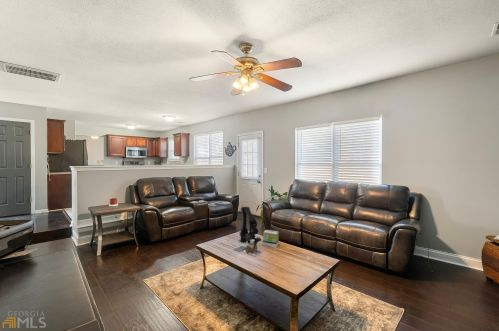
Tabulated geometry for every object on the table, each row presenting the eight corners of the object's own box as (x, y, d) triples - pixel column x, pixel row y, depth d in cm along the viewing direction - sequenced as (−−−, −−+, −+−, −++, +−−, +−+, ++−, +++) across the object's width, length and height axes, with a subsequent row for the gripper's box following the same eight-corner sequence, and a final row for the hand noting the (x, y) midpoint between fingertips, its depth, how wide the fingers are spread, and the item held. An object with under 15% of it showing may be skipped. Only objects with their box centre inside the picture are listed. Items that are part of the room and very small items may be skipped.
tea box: (262, 245, 242) (262, 231, 242) (265, 242, 252) (265, 229, 251) (276, 247, 237) (276, 233, 236) (278, 244, 246) (278, 231, 246)
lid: (251, 248, 222) (251, 245, 222) (246, 246, 226) (246, 243, 226) (257, 245, 231) (257, 242, 230) (252, 243, 234) (252, 241, 234)
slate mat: (233, 249, 230) (233, 249, 230) (241, 246, 240) (241, 245, 240) (240, 252, 224) (240, 251, 224) (248, 248, 235) (248, 247, 234)
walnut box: (250, 253, 222) (250, 247, 222) (246, 251, 225) (246, 245, 225) (257, 249, 232) (257, 243, 232) (253, 248, 235) (253, 242, 235)
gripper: (239, 231, 227) (239, 246, 228) (254, 235, 216) (254, 251, 216) (246, 228, 236) (246, 243, 237) (261, 232, 225) (261, 247, 225)
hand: (251, 246), depth 228 cm, fingers closed on lid, 6 cm apart
